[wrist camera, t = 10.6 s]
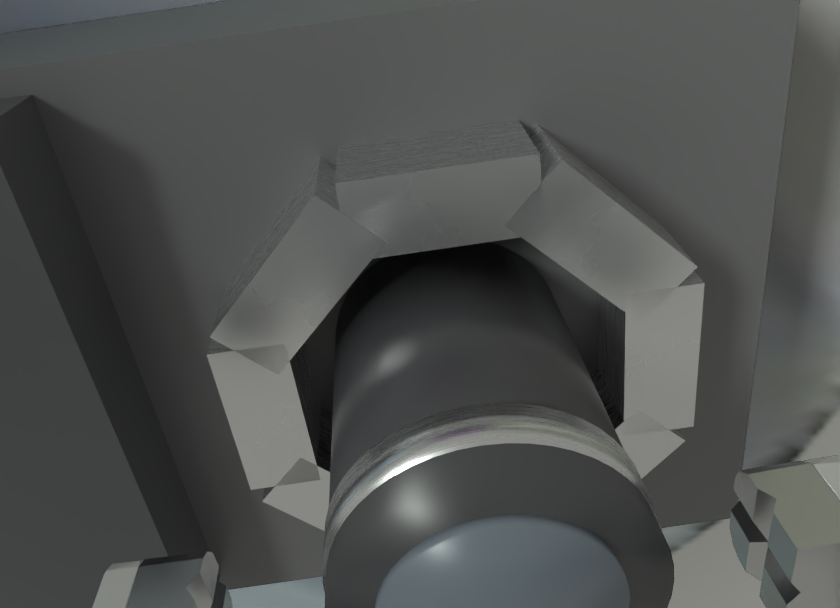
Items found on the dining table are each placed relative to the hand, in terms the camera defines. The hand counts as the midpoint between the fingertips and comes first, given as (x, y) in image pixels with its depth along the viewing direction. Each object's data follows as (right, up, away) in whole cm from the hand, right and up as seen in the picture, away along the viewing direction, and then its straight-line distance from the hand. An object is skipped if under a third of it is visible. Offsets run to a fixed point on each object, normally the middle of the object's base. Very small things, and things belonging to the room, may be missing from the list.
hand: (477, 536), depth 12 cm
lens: (0, +3, +5) cm, 6 cm away
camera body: (-3, +5, +9) cm, 11 cm away
